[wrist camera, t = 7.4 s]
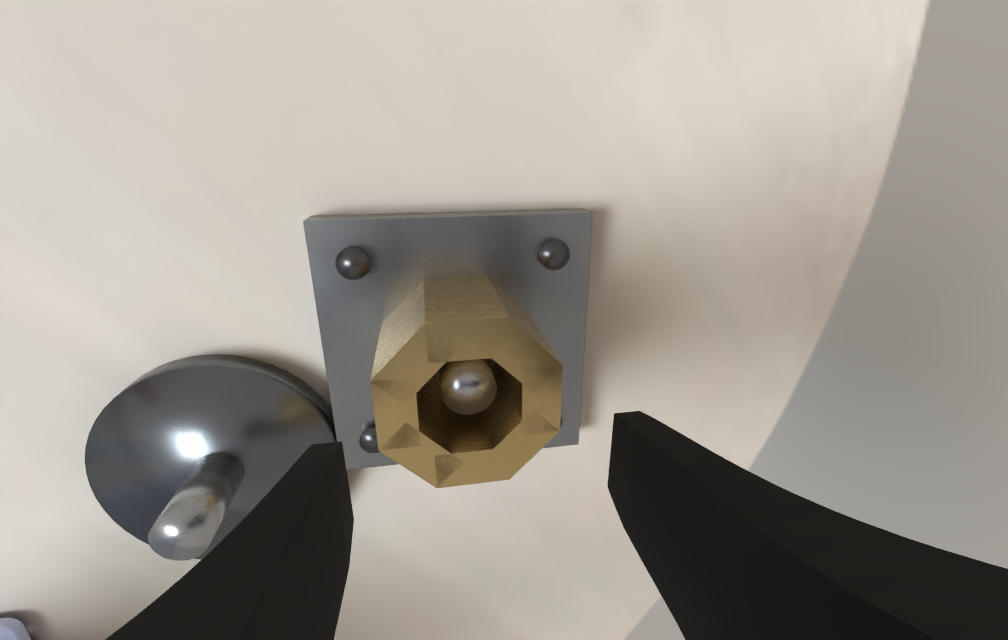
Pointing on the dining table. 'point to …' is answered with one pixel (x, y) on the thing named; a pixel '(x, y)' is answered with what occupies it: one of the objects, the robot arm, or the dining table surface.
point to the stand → (200, 448)
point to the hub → (444, 254)
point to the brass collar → (417, 395)
